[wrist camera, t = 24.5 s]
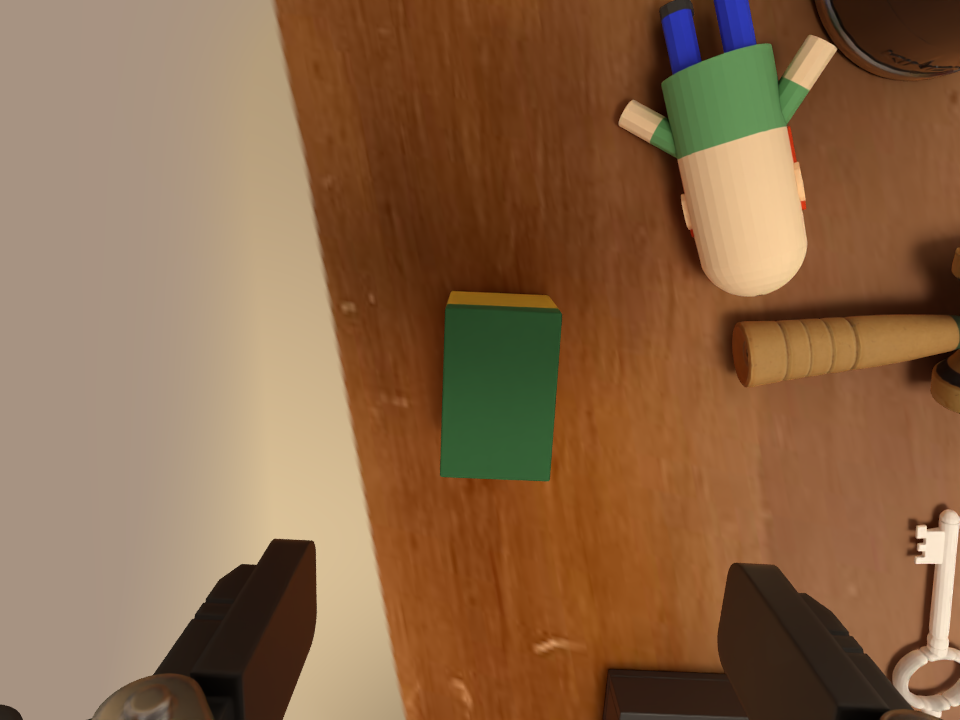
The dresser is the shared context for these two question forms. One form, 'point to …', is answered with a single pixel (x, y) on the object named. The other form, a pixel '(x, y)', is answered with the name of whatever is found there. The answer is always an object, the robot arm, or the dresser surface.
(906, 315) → the kendama
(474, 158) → the dresser surface
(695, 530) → the dresser surface
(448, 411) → the sponge
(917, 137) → the dresser surface
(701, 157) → the toy figurine
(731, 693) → the pan
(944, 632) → the key
